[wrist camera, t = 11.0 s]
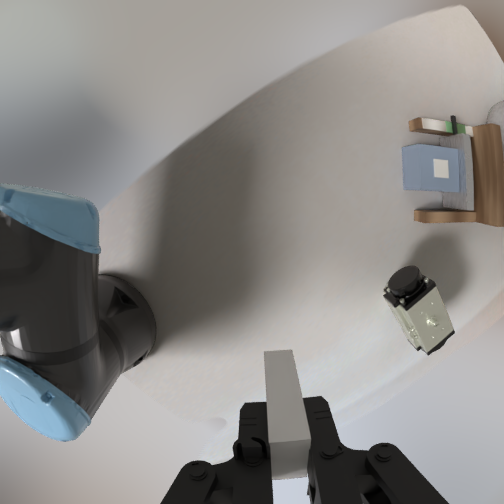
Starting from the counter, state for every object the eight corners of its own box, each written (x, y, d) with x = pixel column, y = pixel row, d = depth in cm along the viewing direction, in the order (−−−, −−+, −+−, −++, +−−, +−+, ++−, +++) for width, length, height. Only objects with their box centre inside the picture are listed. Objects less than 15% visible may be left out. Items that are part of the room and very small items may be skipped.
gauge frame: (414, 220, 38) (445, 228, 30) (408, 121, 35) (438, 109, 27) (472, 219, 37) (504, 226, 29) (468, 131, 34) (499, 125, 26)
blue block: (403, 189, 37) (422, 190, 32) (401, 147, 36) (419, 143, 30) (440, 191, 37) (460, 192, 32) (438, 151, 35) (458, 149, 30)
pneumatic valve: (390, 251, 39) (435, 275, 27) (420, 309, 40) (462, 343, 29) (361, 275, 39) (397, 307, 28) (394, 330, 41) (430, 370, 29)
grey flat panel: (442, 206, 37) (466, 210, 31) (436, 119, 34) (459, 112, 28) (449, 206, 37) (473, 210, 31) (444, 120, 34) (466, 113, 28)
